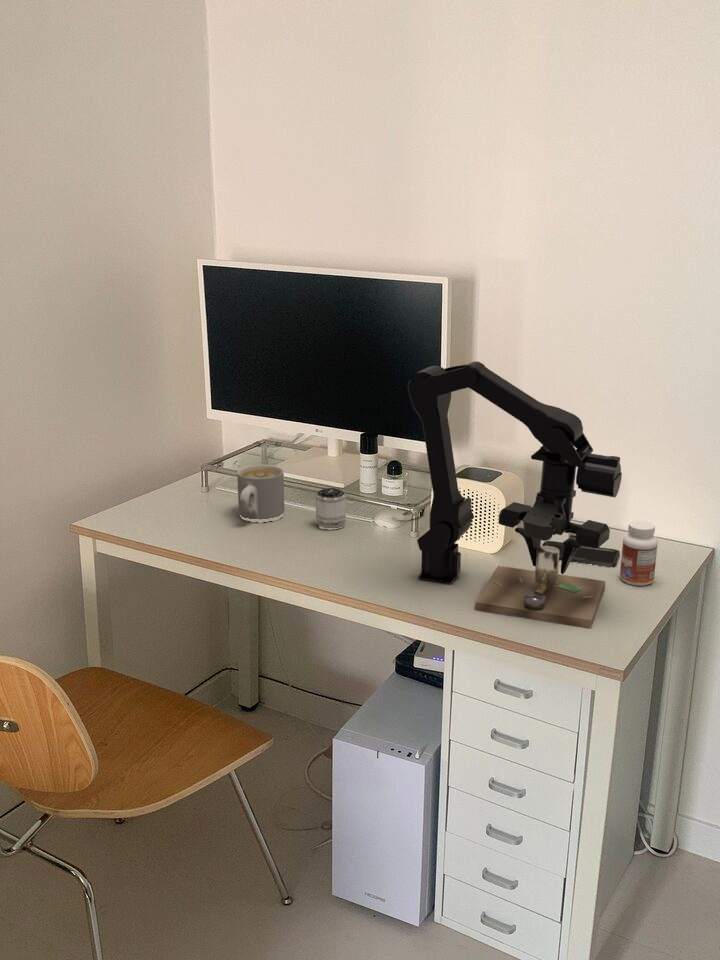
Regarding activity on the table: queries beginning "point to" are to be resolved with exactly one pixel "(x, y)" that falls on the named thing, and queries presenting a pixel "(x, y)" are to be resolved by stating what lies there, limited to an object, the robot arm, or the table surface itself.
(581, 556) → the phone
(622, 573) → the pill bottle
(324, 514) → the glass jar
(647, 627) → the table surface
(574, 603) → the wooden serving board
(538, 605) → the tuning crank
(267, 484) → the coffee mug
